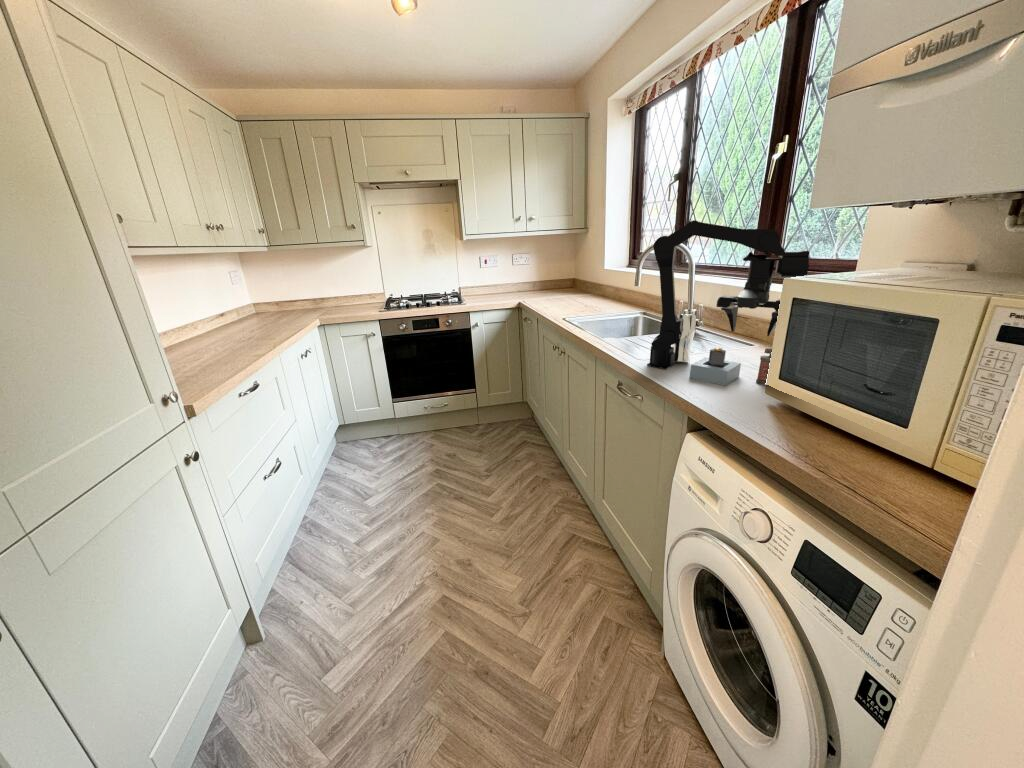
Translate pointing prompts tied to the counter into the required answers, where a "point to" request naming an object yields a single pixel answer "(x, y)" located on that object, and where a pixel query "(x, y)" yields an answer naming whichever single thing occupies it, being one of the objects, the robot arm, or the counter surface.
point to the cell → (717, 357)
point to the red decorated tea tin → (764, 367)
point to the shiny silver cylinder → (685, 338)
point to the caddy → (715, 371)
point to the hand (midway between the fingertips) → (750, 333)
